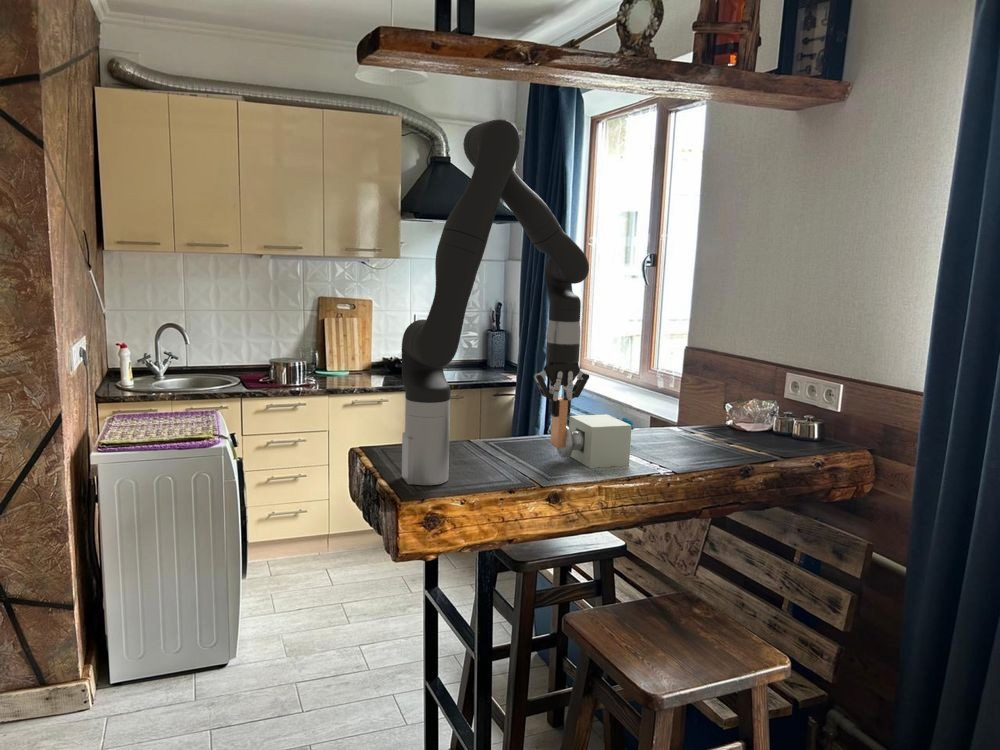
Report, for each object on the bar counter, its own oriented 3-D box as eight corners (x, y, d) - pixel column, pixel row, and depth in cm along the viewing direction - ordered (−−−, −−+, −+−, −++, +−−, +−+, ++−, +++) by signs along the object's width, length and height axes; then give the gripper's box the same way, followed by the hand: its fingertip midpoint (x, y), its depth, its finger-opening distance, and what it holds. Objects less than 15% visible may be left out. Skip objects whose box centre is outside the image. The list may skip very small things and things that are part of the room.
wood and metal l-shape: (560, 462, 167) (563, 402, 165) (547, 453, 174) (549, 395, 172) (597, 459, 170) (600, 400, 168) (582, 451, 177) (585, 394, 175)
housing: (590, 468, 168) (592, 427, 166) (567, 454, 179) (569, 415, 177) (629, 465, 171) (631, 425, 169) (604, 452, 182) (607, 414, 181)
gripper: (541, 342, 161) (537, 420, 164) (598, 342, 166) (594, 418, 168) (528, 339, 168) (525, 413, 171) (583, 338, 173) (579, 411, 175)
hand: (559, 415), depth 170 cm, fingers closed on wood and metal l-shape, 2 cm apart
